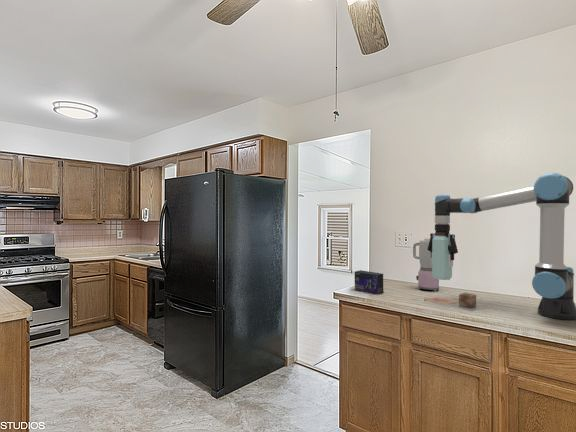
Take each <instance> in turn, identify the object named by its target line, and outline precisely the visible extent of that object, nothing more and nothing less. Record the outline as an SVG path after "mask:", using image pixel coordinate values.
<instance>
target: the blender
mask: <svg viewBox="0 0 576 432" xmlns="http://www.w3.org/2000/svg"><path fill="white" fill-rule="evenodd" d="M429 241H430V238H424V239H423V240H419V242H415V243H414V244H413V246H412V249H413V250H412V254H413V256H412V257H413V258H414V259H417V260H419V264H420V268H419V270H418V273H417V275H416V278H415V279H416V281H417V282H418V283H417V284H418V285H417V288H418V290H419V291H421V289H422V290H428V291H429V290H431V291H433V292H434V293H435V292H437V291H439V290H440V280H439V279H435V278H433V276H432V258H431V252H430V251H428V250H427V249H428V245H429ZM417 246H418V255H417Z"/></svg>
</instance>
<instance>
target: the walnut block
mask: <svg viewBox="0 0 576 432" xmlns="http://www.w3.org/2000/svg"><path fill="white" fill-rule="evenodd" d="M458 301H459V302H458V303H459V306H460V307H465V308H471V309H472V308H474V307H476V305H477V294H476V293H469V292H462V293H459V294H458Z"/></svg>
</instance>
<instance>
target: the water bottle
mask: <svg viewBox="0 0 576 432" xmlns="http://www.w3.org/2000/svg"><path fill="white" fill-rule="evenodd" d="M435 232H436V231H435ZM448 245H450V246H451V242H450V238H449V237H446V236H445V232H436V235H435V237H434V238H433V239H432V276H433V278H435V279H439V281H441V280H442V281H447V280H448V281H450V280H451V279H452V277H453V266H452V267H448V254H449V250H448Z"/></svg>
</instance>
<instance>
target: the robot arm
mask: <svg viewBox="0 0 576 432" xmlns="http://www.w3.org/2000/svg"><path fill="white" fill-rule="evenodd" d="M573 191H574V184H573V181H572V180H571V179H570V178H568V177H567V176H565V175H563V174H561V173H557V172H551V173H548V172H547V173H545V174H543V175H540V176H539V177H538V178H537V179H536V180H535V182H534V185H532V186H527V187H522V188H518V189H513V190H507V191H503V192H498V193H493V194H489V195H485V196H479V197H474V198H472V197H471V198H470V197H464V198H451V196H450V194H442V195H441V194H438V195H436V196H435V197H434V198H435V199H434V232H435V233H430V234H429V237H430V238H429V239H430V241H429V245H428V249H427V250H428V251H430V252H431V258H432V239H433V238H434V237H435V235H436V232H445V236H446V237H449V238H450V242H451V246H450V245H448V250H449V254H448V267H452V268H453V267H454V261H455V255H456V254H458V253H459V251H458V247H457V243H456V234H453V233H452V234H450V231H451V224H450V223H451V214H453V213H455V214H478V213H479V212H484V211H489V210H495V209H502V208H506V207H507V208H508V207H512V206H518V205H525V204H527V203H533V202H534V203H535V205H536V206H537V207H538V208H539V212H540V214H539V255H538V257H539V259H538V260H539V261H538V263H536V264H534V265H535V266H534V276H533V278H532V281H531V285H532V289H533V291H535V293H536V294H538V295H539V296H540V297H541V300H540V302H539V303H538V304H539V305H538V307H537V314H538V315H540V316H543V317H545V318H549V319H556V320H565V321H576V304H575V301H574V294H575V291H574V289H575V288H574V285H575V283H574V277H575V273H574V268H573V267H570V266H567V265H566V264H564V260H565V259H564V258H565V257H564V256H565V253H564V252H565V214H566V213H565V211H566V208H567V207H568V206H570V196H571V195H572V193H573Z"/></svg>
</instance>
